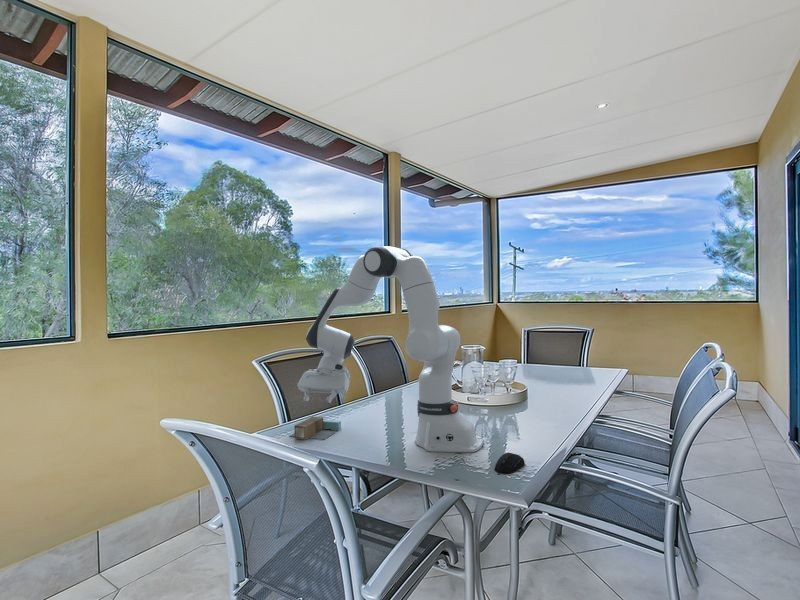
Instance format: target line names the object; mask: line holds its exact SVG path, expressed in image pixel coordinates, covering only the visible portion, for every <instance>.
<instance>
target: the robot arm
mask: <svg viewBox="0 0 800 600" xmlns="http://www.w3.org/2000/svg"><path fill="white" fill-rule="evenodd" d="M427 265H428V264H427V263H426V261H425V260H424V259H423V258H422V257H421V256H417V255H414V254H413V253H412V252H411V251H409V250H407V249H405V248H400V247H399V248H398V247H394V246H389V245H388V246H384V245H383V246H381V245H375V246H373V247H371V248H368V249H367V251H366V252H365V253H364V254H362V255H360V256H359V257H358V258H357V260H356V262H355V263H354V265H353V267H352V269H351V271H350V273H349V275H348V279H346V280H347V281H346V282H345V283H344V284H343V285H341V286H339V287H336V288H334V290H333V291H332V293H330V296H329V298H328V299H327V300H326V302H325V304H324V305H323V306H322V309H321V310H320V312H319V313H318V315H317V317H316V319H315V320H314V322H313V323H312V324H311V325H310V327H309V328H308V330H307V332H306V336H305V340H306V343H307V344H308V346H310V348H314V349H318V350H322V351H323V356H322V357H321V358H320V360H319V363H318V366H317V367H316V369H308V370H305V371H304V372H302V373H303V374H302V376H301V377H300V379H299V380H298V382H297V384H296V385H297V388H298V390H299V391H300V392H303V394H304V396H303V398H302V399H303V402H309V400H310V395H309V394H310V393H323V394H330V395H329V396H326V398H325V402H326V403H329V404H331V403H332V401H333V400H334V398H335V397H337V395H338V394H341V395H345V394H346V393H347V392H348V390H349V386H350V384H351V383H350V378H351V373H350V371H349V370H348V368H347V366H346V365H343V362H344V361H345V360H346V359H348V358H349V357H351V354H352V349H353V348H354V345H355V338H354V337H353V335H352V333H349V332H347V331H345V330H342V329H339V328H336V327H334V326H330V325H328V324H327V321H328V320H329V318H330V316H331V315H332V313H333V312H334V310H336V309H337V308H339V307H358V306H363V305H366V304H368V303H369V302H370V301H371V300H372V298H373V296H374V294H375V292H376V289H377V287H378V285H379V282H380V280H381V278H387V279H397V280H398V282H399V283H400V287H401V291H402V295H403V298H404V302H405V305H406V306H405V307H406V310H407V313H408V333H407V336H406V339H405V341H404V348H405V352H406V354H407V356H408V357H409V358H410V359H412V360H414V361H417V362H424V364H423V368H422V370H421V372H419V373H420V374H419V375H418V400H417V405H416V406H417V417H418V422H417V424H418V425H417V430H416V436H415V440H414V443H415V445H417V446H418V447H421V448H423V449H424V450H425V451H427V452H438V453H439V452H440V453H441V452H442V453H443V452H446V453H447V452H448V453H474V452H477V451H479V450H481V449H482V447H483V445H484V440H483V437H481V436H479V435H477V432H476V427H475V425H474V422H472V421H471V420H469V419H468V418H467V417H466V416H464V415H463V414H462V412H461V413H460V411H459V401H456V400H454V399H453V396H452V395H453V389H452V388H453V386H452V385H453V384H452V380H453V372H454V371H453V370H454V365H455V359H456V355H457V352H458V350H459V348H460V346H461V344H462V343H461V341H462V340H461V339H462V338H461V335H460V332H459V331H458V330H457V329H456V328H455V327H452V326H450V325H446V324H439V309H440V308H441V307H440V300H439V296H438V294H437V289H436V285H435V283H434V279H433V277H432V273H431V272H430V270H429V267H428V266H427Z"/></svg>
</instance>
